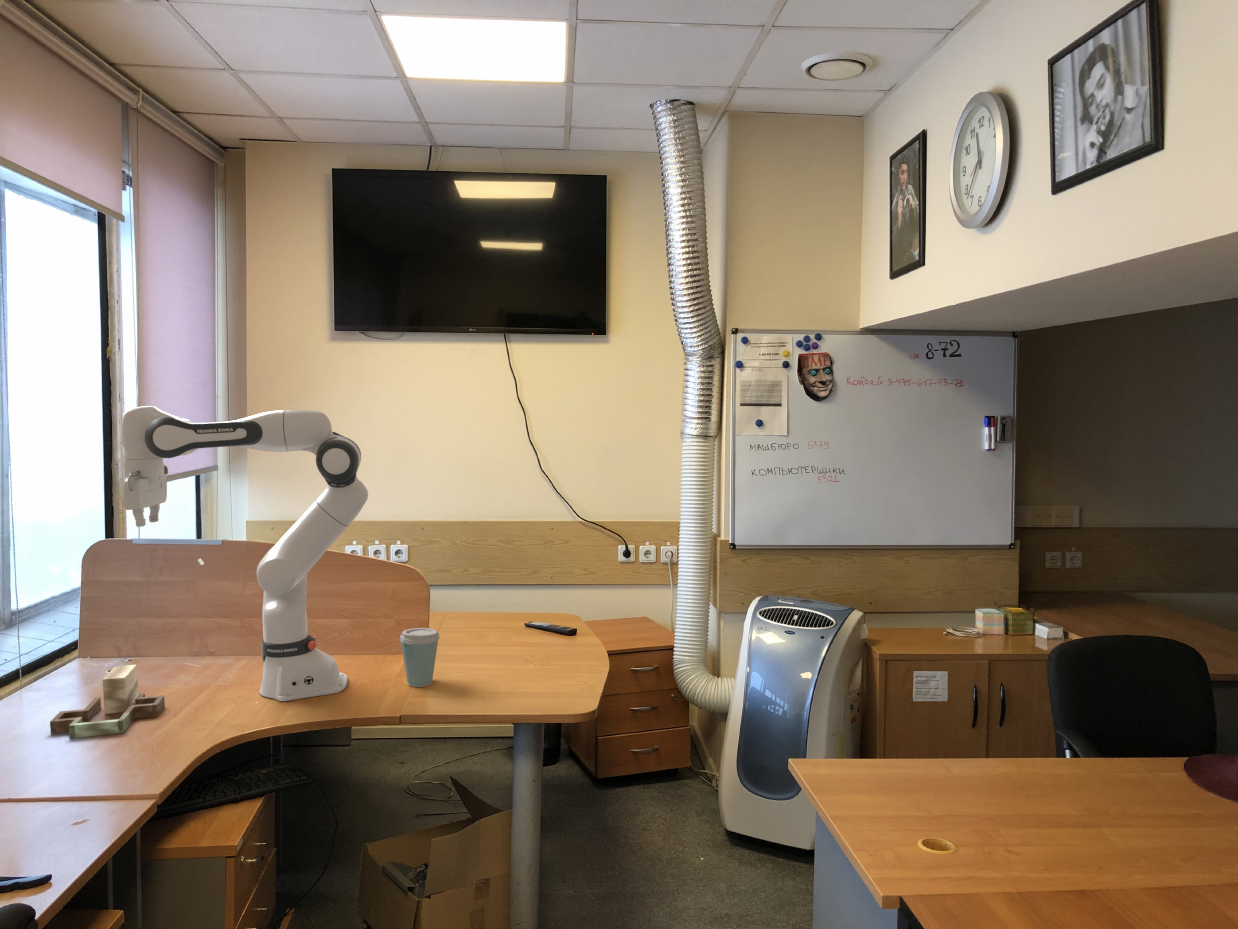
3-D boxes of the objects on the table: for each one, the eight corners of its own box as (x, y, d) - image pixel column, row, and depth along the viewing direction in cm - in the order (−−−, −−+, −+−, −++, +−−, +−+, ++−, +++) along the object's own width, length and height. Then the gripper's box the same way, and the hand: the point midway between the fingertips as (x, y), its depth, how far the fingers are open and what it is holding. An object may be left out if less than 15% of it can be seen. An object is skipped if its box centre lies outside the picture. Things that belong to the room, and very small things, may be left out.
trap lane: (167, 702, 219) (167, 691, 219) (148, 730, 202) (147, 718, 202) (72, 711, 214) (72, 699, 213) (44, 740, 196) (43, 728, 196)
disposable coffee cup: (411, 675, 239) (409, 623, 237) (447, 677, 237) (445, 625, 235) (394, 688, 228) (392, 634, 227) (431, 691, 226) (429, 637, 225)
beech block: (138, 697, 223) (136, 664, 222) (127, 712, 213) (124, 677, 212) (117, 699, 222) (115, 666, 221) (104, 714, 212) (102, 679, 211)
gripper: (142, 471, 205) (146, 528, 206) (170, 467, 225) (173, 519, 226) (114, 473, 204) (118, 530, 205) (144, 468, 224) (148, 520, 225)
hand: (147, 524), depth 215 cm, fingers open, 8 cm apart
